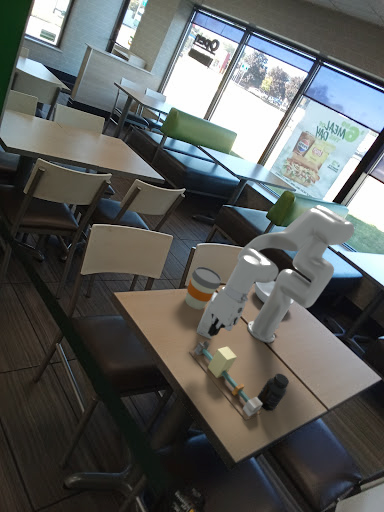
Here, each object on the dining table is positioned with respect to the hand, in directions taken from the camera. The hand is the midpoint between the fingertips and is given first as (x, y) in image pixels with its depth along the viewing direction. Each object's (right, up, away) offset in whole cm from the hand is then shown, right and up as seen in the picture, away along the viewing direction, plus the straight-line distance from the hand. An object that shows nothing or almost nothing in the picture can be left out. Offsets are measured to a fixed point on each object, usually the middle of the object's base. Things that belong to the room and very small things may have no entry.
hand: (211, 334), depth 132 cm
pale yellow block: (+2, -14, +2) cm, 14 cm away
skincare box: (-2, -3, +21) cm, 21 cm away
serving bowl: (+32, +4, +65) cm, 73 cm away
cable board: (+4, -16, 0) cm, 16 cm away
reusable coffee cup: (-6, +6, +36) cm, 37 cm away
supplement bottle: (+18, -23, -2) cm, 29 cm away
